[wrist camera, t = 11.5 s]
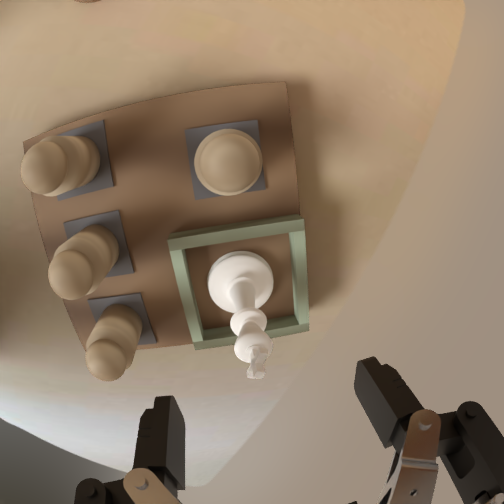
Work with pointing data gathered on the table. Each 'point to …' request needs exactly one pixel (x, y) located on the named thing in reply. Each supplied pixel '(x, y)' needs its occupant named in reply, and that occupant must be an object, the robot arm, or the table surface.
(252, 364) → the chess piece
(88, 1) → the figurine
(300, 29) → the table surface
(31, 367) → the table surface
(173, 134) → the pawn tray
